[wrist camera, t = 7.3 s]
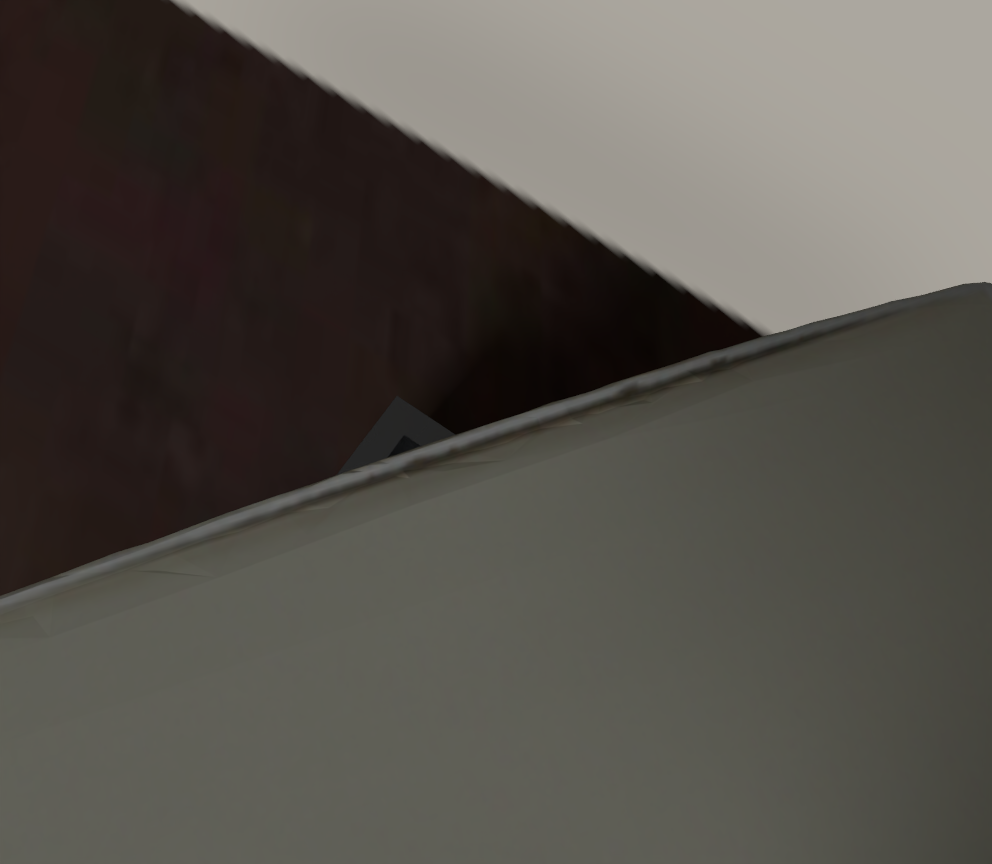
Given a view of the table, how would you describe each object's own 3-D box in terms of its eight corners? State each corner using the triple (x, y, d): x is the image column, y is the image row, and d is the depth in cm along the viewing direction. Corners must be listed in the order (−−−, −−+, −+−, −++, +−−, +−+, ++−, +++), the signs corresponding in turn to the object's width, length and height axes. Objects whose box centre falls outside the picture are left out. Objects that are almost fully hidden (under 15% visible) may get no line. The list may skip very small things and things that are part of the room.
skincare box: (572, 580, 16) (1051, 231, 5) (662, 807, 15) (1575, 1056, 4) (243, 701, 15) (-206, 613, 3) (314, 965, 14) (14, 2266, 2)
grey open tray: (713, 671, 21) (798, 662, 16) (506, 1070, 17) (545, 1186, 13) (394, 458, 21) (397, 395, 17) (139, 803, 18) (64, 832, 14)
